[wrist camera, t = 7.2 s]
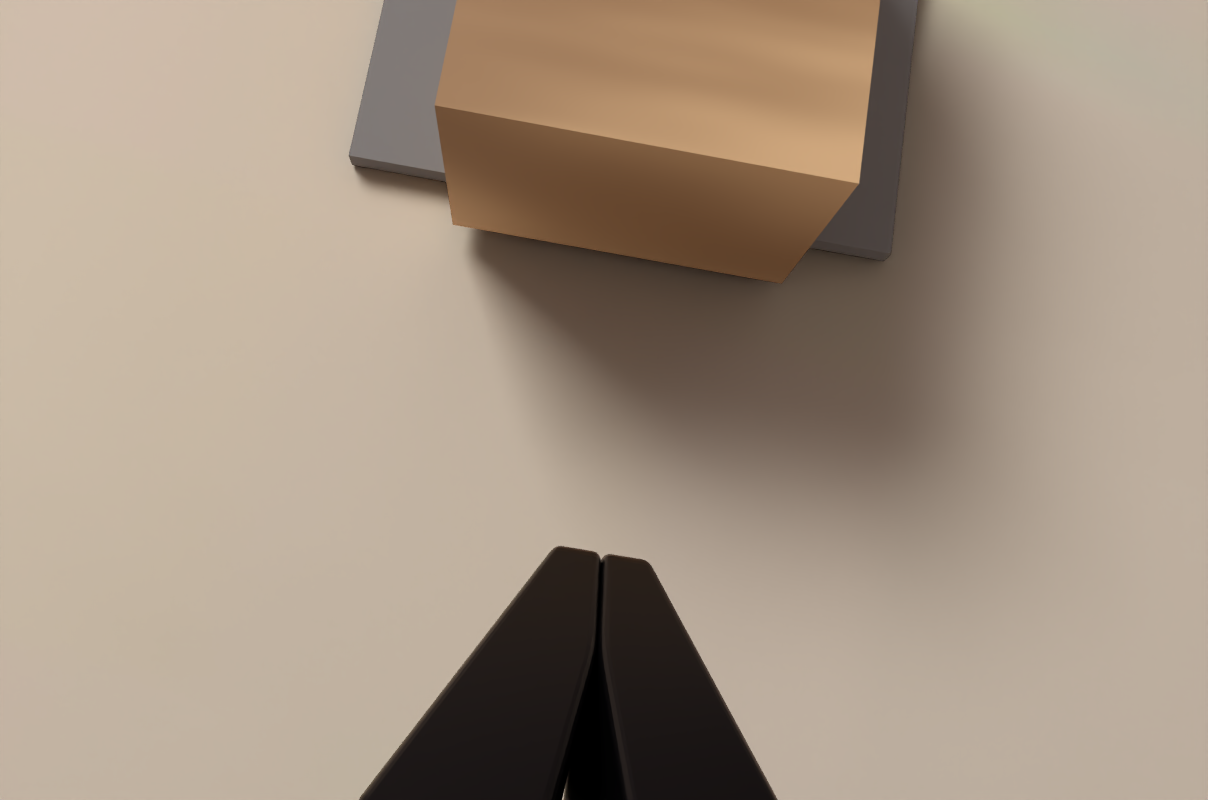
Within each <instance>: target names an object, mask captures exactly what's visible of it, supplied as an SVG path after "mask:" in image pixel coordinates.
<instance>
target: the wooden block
mask: <svg viewBox="0 0 1208 800" xmlns="http://www.w3.org/2000/svg"><path fill="white" fill-rule="evenodd" d="M879 6H880V0H457V1H456V6H455V11H454V15H453V20H452V25H451V30H450V34H449V39H448V44H447V49H446V53H445V58H444V63H443V67H442V72H441V77H440V82H439V86H438V91H437V96H436V101H435V112H436V118H437V125H438V131H439V138H440V144H441V151H442V157H443V164H444V170H445V177H446V183H447V190H448V196H449V203H450V209H451V216H452V222H453V225H458V226H464V227H470V228H475V229H481V230H486V231H492V232H497V233H503V234H508V235H514V236H520V237H525V238H531V239H536V240H542V241H547V242H553V243H559V244H564V245H570V246H575V247H581V248H586V249H592V250H597V251H603V252H609V253H614V254H620V255H625V256H631V257H636V258H642V259H648V260H653V261H659V262H664V263H670V264H675V265H681V266H686V267H692V268H698V269H703V270H709V271H714V272H720V273H725V274H731V275H737V276H742V277H748V278H753V279H759V280H764V281H770V282H775V283H781V284H782V282H783V281H784V280H785V279H786V277H787V276H788V275H789V273H790V272H791V271H792V270H793V268H794V267H795V266H796V264H797V263H798V262H799V261H800V259H801V258H802V257H803V255H804V254H805V253H806V251H807V250H808V249H809V248H810V246H811V245H812V244H813V242H814V241H815V240H816V239H817V237H818V236H819V235H820V233H821V232H822V231H823V230H824V228H825V227H826V226H827V224H828V223H829V222H830V220H831V219H832V218H833V217H834V215H835V214H836V213H837V211H838V210H839V209H840V208H841V206H842V205H843V204H844V202H845V201H846V200H847V199H848V197H849V196H850V195H851V193H852V192H853V191H854V189H855V188H856V187H857V186H858V184H859V180H860V171H861V162H862V154H863V145H864V136H865V128H866V119H867V110H868V102H869V93H870V84H871V76H872V67H873V58H874V50H875V41H876V32H877V23H878V15H879Z"/></svg>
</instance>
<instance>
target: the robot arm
mask: <svg viewBox="0 0 1208 800" xmlns="http://www.w3.org/2000/svg"><path fill="white" fill-rule="evenodd" d="M564 789H565V792H564ZM563 793H564V800H777V798H776V796H775V794H774V792H773V790H772V788H771V787H770V785H769V783H768V781H767V779H766V777H765V775H764V774H763V772H762V770H761V768H760V766H759V764H758V763H757V761H756V759H755V757H754V755H753V753H752V751H751V750H750V748H749V746H748V744H747V742H746V740H745V738H744V737H743V735H742V733H741V731H740V729H739V727H738V725H737V724H736V722H735V720H734V718H733V716H732V714H731V712H730V711H729V709H728V707H727V705H726V703H725V701H724V699H723V698H722V696H721V694H720V692H719V690H718V688H717V687H716V685H715V683H714V681H713V679H712V677H711V675H710V674H709V672H708V670H707V668H706V666H705V664H704V662H703V661H702V659H701V657H700V655H699V653H698V651H697V649H696V648H695V646H694V644H693V642H692V640H691V638H690V636H689V635H688V633H687V631H686V629H685V627H684V625H683V624H682V622H681V620H680V618H679V616H678V614H677V612H676V611H675V609H674V607H673V605H672V603H671V601H670V599H669V598H668V596H667V594H666V592H665V590H664V588H663V586H662V585H661V583H660V581H659V579H658V577H657V575H656V573H655V572H654V570H653V568H652V566H651V565H650V564H649V563H648V562H647V561H645V560H642V559H636V558H630V557H624V556H618V555H612V554H608V555H605V556H604V557H603V558H602V560H601V559H600V557H599V555H598V554H597V553H596V552H594V551H588V550H582V549H576V548H570V547H564V546H558V547H555V548H554V549H553V550H551V552H550V553H549V554H548V555H547V557H546V558H545V559H544V560H543V562H542V563H541V564H540V566H539V567H538V568H537V569H536V571H535V572H534V573H533V575H532V576H531V577H530V578H529V580H528V581H527V582H526V584H525V585H524V586H523V588H522V589H521V590H520V591H519V593H518V594H517V595H516V597H515V598H514V599H513V600H512V602H511V603H510V604H509V606H508V607H507V608H506V609H505V611H504V612H503V613H502V615H501V616H500V617H499V619H498V620H497V621H496V622H495V624H494V625H493V626H492V628H491V629H490V630H489V631H488V633H487V634H486V635H485V637H484V638H483V639H482V640H481V642H480V643H479V644H478V646H477V647H476V648H475V650H474V651H473V652H472V653H471V655H470V656H469V657H468V659H467V660H466V661H465V662H464V664H463V665H462V666H461V668H460V669H459V670H458V671H457V673H456V674H455V675H454V677H453V678H452V679H451V681H450V682H449V683H448V684H447V686H446V687H445V688H444V690H443V691H442V692H441V693H440V695H439V696H438V697H437V699H436V700H435V701H434V702H433V704H432V705H431V706H430V708H429V709H428V710H427V711H426V713H425V714H424V715H423V717H422V718H421V719H420V721H419V722H418V723H417V724H416V726H415V727H414V728H413V730H412V731H411V732H410V733H409V735H408V736H407V737H406V739H405V740H404V741H403V742H402V744H401V745H400V746H399V748H398V749H397V750H396V752H395V753H394V754H393V755H392V757H391V758H390V759H389V761H388V762H387V763H386V764H385V766H384V767H383V768H382V770H381V771H380V772H379V773H378V775H377V776H376V777H375V779H374V780H373V781H372V783H371V784H370V785H369V786H368V788H367V789H366V790H365V792H364V793H363V794H362V795H361V797H360V799H359V800H562V797H563Z"/></svg>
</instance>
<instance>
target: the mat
mask: <svg viewBox="0 0 1208 800" xmlns="http://www.w3.org/2000/svg"><path fill="white" fill-rule="evenodd" d="M456 1H457V0H384V3H383V7H382V12H381V16H380V20H379V25H378V29H377V34H376V38H375V42H374V47H373V51H372V56H371V60H370V64H369V69H368V73H367V78H366V82H365V86H364V91H363V95H362V100H361V104H360V108H359V113H358V117H357V122H356V126H355V130H354V135H353V139H352V144H351V148H350V152H349V157H350V160H351V163H352V165H356V166H362V167H367V168H373V169H379V170H384V171H390V172H395V173H401V174H406V175H412V176H417V177H423V178H428V179H434V180H439V181H445V182H446V177H445V170H444V164H443V157H442V151H441V144H440V138H439V131H438V125H437V118H436V112H435V101H436V96H437V91H438V86H439V82H440V77H441V72H442V67H443V63H444V58H445V53H446V49H447V44H448V39H449V34H450V30H451V25H452V20H453V15H454V11H455V6H456ZM917 4H918V0H880V6H879V15H878V23H877V32H876V41H875V50H874V58H873V67H872V76H871V84H870V93H869V102H868V110H867V119H866V128H865V136H864V145H863V154H862V162H861V171H860V180H859V184H858V186H857V187H856V188H855V189H854V191H853V192H852V193H851V195H850V196H849V197H848V199H847V200H846V201H845V202H844V204H843V205H842V206H841V208H840V209H839V210H838V211H837V213H836V214H835V215H834V217H833V218H832V219H831V220H830V222H829V223H828V224H827V226H826V227H825V228H824V230H823V231H822V232H821V233H820V235H819V236H818V237H817V239H816V240H815V241H814V242H813V244H812V245H811V246H810V248H815V249H820V250H826V251H831V252H837V253H842V254H848V255H853V256H859V257H864V258H870V259H875V260H881V261H884V260H885V259H886V258H887V257H888V256H889V255H890V254H891V249H892V240H893V231H894V221H895V212H896V202H897V193H898V183H899V174H900V165H901V155H902V146H903V136H904V127H905V117H906V108H907V99H908V89H909V80H910V70H911V61H912V52H913V42H914V33H915V23H916V14H917Z"/></svg>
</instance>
